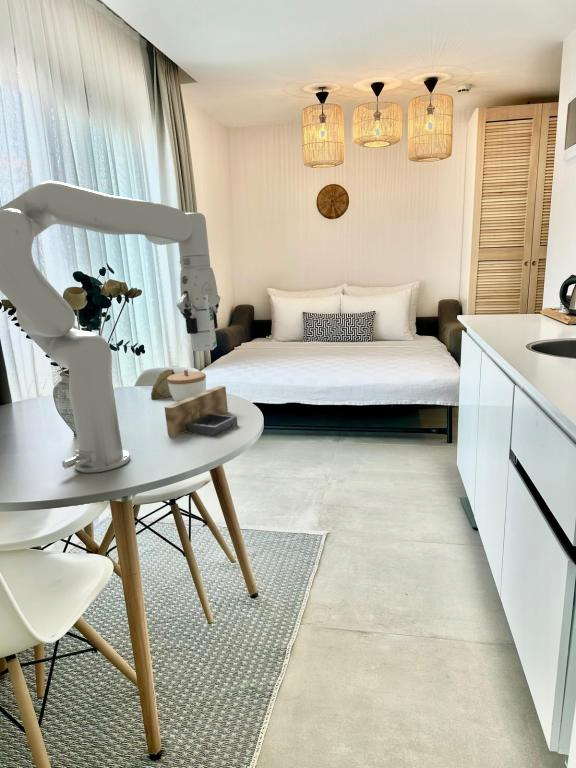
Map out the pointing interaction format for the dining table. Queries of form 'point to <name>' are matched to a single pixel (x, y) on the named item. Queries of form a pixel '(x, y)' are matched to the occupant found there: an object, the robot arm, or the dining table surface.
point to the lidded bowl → (186, 384)
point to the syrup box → (204, 328)
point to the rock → (162, 385)
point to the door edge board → (195, 409)
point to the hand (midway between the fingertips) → (202, 330)
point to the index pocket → (202, 428)
